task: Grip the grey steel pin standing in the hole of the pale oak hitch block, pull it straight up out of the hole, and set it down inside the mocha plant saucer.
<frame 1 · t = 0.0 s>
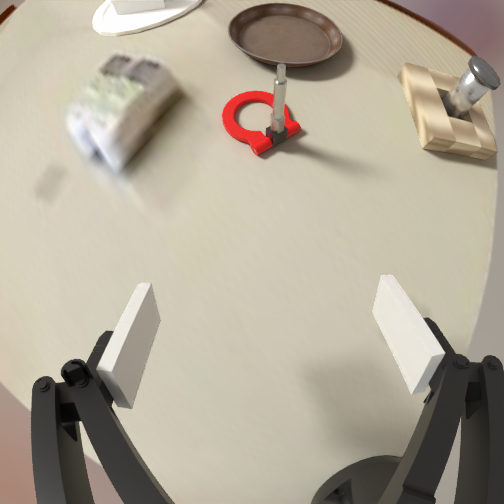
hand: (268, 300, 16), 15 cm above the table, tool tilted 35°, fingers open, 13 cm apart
tow hook: (257, 121, 35), on the table
steel pin: (464, 94, 29), in the oak hitch block
oak hitch block: (444, 116, 36), on the table
dish: (149, 3, 41), on the table
plant saucer: (284, 41, 38), on the table
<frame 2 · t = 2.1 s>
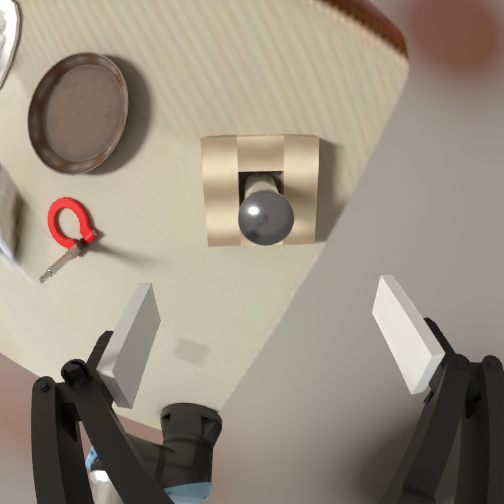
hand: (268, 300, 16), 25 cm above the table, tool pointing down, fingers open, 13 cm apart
tow hook: (71, 223, 41), on the table
steel pin: (262, 199, 33), in the oak hitch block
oak hitch block: (260, 186, 39), on the table
plant saucer: (82, 112, 33), on the table
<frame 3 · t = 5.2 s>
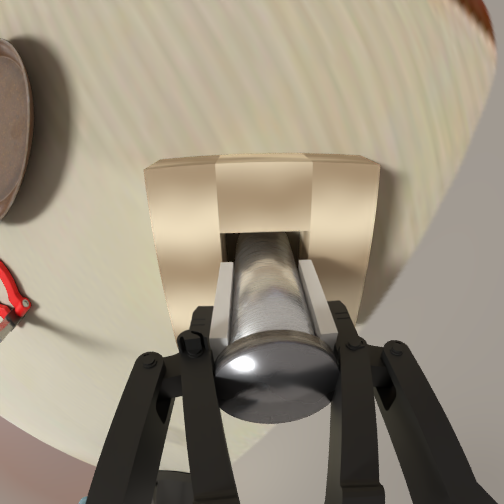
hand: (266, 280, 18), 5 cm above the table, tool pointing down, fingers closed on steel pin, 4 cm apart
tow hook: (0, 286, 24), on the table
steel pin: (268, 298, 17), in the oak hitch block, touching gripper
oak hitch block: (263, 247, 22), on the table
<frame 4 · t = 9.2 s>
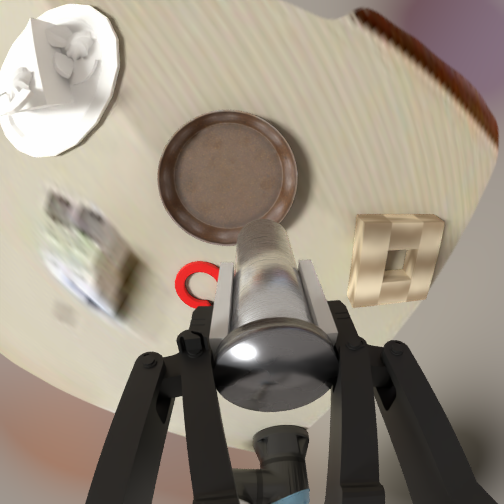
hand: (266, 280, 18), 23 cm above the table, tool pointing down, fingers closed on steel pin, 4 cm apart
tow hook: (204, 285, 46), on the table
steel pin: (267, 291, 17), point 24 cm above the table, touching gripper
oak hitch block: (391, 255, 44), on the table
dish: (51, 78, 30), on the table
plant saucer: (227, 175, 39), on the table
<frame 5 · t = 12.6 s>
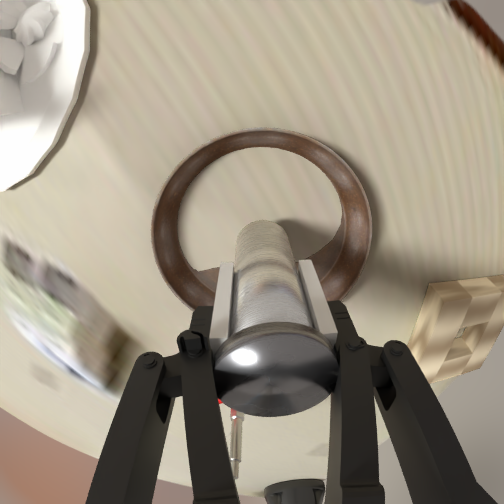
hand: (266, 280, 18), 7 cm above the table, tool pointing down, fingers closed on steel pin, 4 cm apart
tow hook: (219, 368, 33), on the table
steel pin: (267, 294, 17), point 9 cm above the table, touching gripper, plant saucer
oak hitch block: (454, 324, 31), on the table
plant saucer: (261, 229, 26), on the table, touching steel pin
when the fingers open (7 cm above the table, at t = 13.2 s): steel pin stays where it is, resting on plant saucer.
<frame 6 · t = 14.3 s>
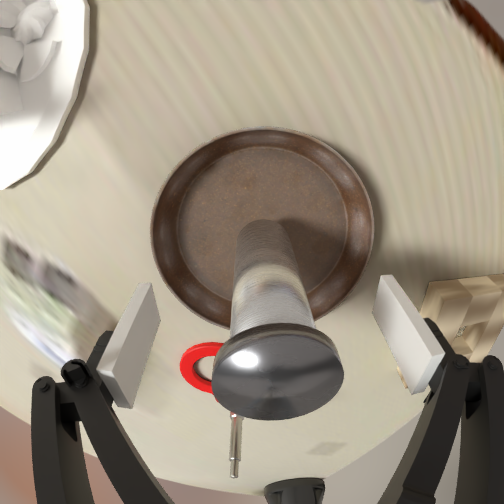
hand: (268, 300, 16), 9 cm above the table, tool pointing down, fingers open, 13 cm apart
tow hook: (219, 367, 33), on the table
steel pin: (268, 294, 16), point 9 cm above the table, touching plant saucer
oak hitch block: (454, 323, 31), on the table
plant saucer: (262, 230, 25), on the table, touching steel pin
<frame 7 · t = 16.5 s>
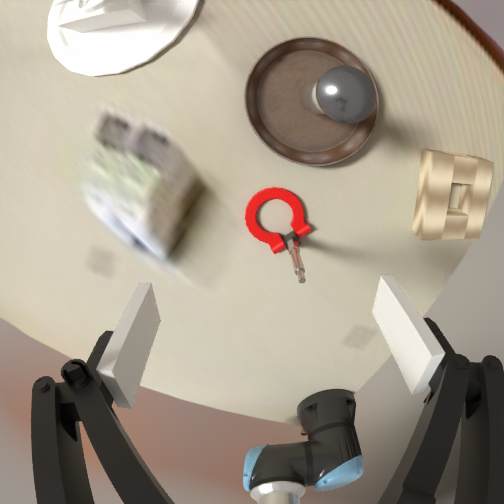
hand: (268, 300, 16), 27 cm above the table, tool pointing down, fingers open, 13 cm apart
tow hook: (275, 216, 43), on the table
steel pin: (328, 96, 27), point 9 cm above the table, touching plant saucer
oak hitch block: (449, 192, 41), on the table
dish: (119, 1, 27), on the table
plant saucer: (310, 100, 36), on the table, touching steel pin
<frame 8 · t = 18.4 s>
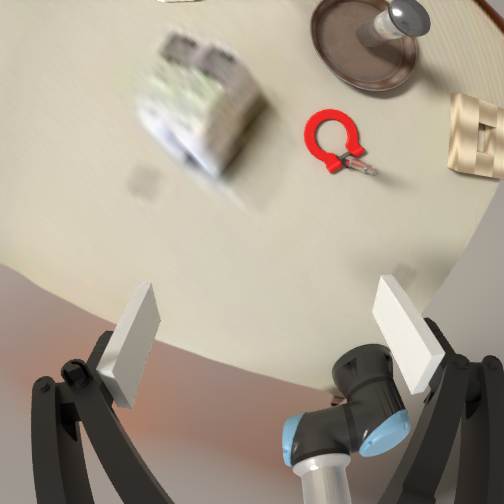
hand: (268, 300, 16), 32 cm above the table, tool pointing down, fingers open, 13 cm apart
tow hook: (331, 138, 42), on the table
steel pin: (387, 26, 26), point 9 cm above the table, touching plant saucer
oak hitch block: (475, 136, 40), on the table
plant saucer: (360, 41, 35), on the table, touching steel pin
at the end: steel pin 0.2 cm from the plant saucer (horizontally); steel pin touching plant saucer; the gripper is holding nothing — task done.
